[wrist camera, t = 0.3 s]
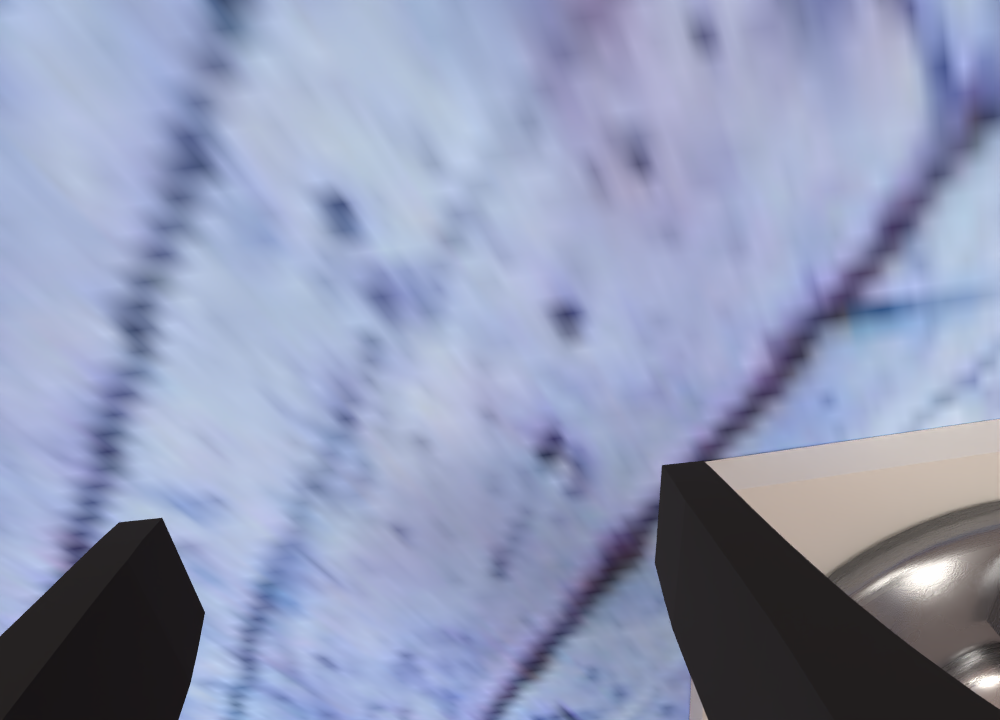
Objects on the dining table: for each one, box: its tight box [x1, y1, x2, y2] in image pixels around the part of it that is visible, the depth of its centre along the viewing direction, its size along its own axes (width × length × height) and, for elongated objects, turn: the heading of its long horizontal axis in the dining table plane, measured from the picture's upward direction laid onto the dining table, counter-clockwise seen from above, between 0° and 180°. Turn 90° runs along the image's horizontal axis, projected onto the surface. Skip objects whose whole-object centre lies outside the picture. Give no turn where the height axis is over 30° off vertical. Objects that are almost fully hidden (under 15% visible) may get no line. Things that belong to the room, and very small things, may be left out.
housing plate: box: [689, 419, 1000, 720], centre depth 28 cm, size 20×20×2 cm
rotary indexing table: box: [827, 501, 1000, 709], centre depth 25 cm, size 16×16×5 cm
